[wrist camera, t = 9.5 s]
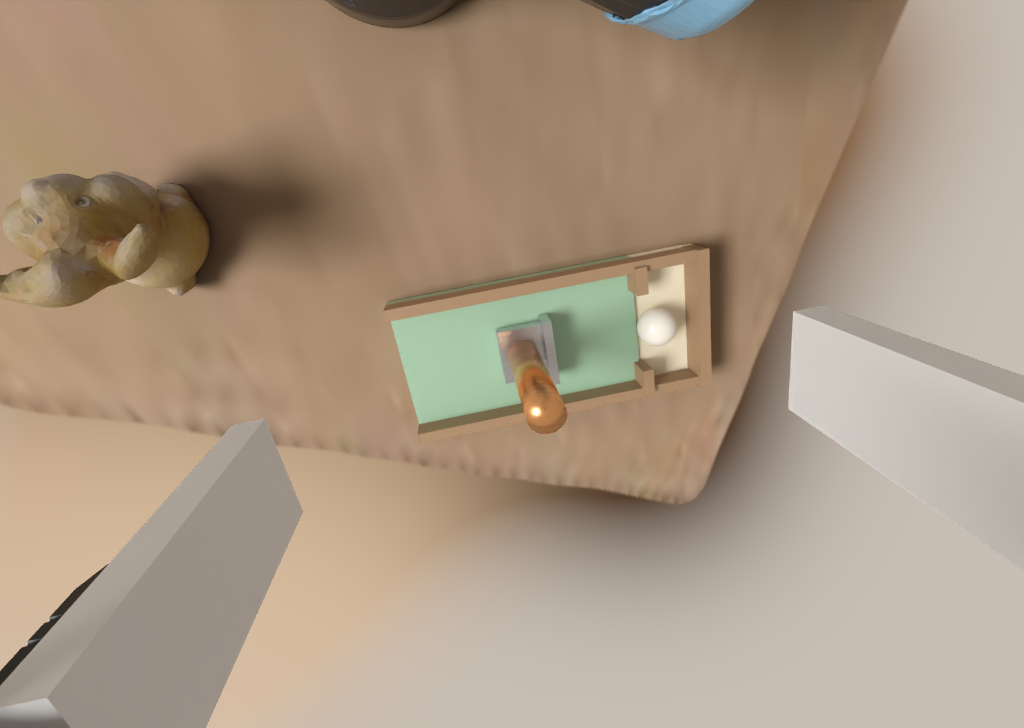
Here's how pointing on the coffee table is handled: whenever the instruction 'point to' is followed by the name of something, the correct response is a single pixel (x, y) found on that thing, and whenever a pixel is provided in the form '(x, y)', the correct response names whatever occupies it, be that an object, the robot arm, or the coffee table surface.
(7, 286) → the figurine
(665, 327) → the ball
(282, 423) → the coffee table surface
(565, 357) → the pitch
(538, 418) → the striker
